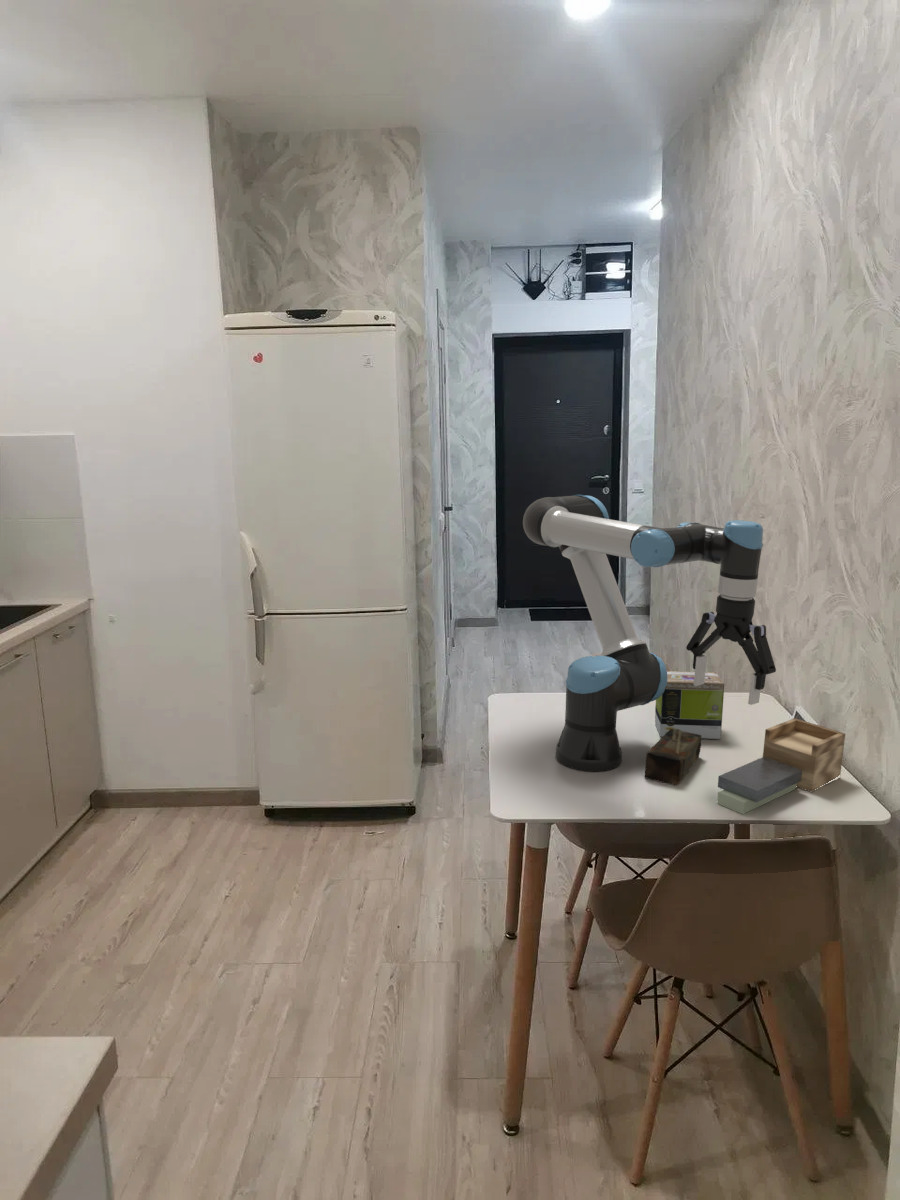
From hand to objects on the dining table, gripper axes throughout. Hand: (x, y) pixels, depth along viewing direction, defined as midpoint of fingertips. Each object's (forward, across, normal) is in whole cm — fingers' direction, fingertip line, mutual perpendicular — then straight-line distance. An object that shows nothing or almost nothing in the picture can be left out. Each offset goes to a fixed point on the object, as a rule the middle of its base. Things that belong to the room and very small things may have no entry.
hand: (725, 693), depth 182 cm
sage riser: (+20, -9, -2) cm, 22 cm away
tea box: (+22, +23, -20) cm, 38 cm away
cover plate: (+18, -9, -2) cm, 20 cm away
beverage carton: (+21, +11, +1) cm, 24 cm away
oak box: (+20, -9, -19) cm, 29 cm away
